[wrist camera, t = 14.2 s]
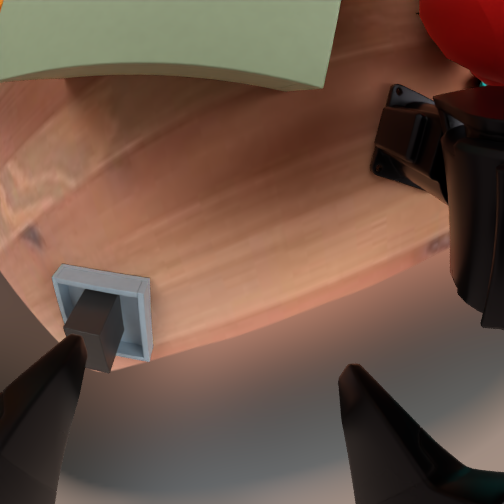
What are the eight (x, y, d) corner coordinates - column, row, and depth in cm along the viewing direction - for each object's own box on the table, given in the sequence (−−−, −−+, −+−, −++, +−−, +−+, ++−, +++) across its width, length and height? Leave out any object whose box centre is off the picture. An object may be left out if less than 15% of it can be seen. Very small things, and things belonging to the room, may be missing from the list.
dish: (150, 277, 21) (143, 294, 19) (153, 346, 25) (149, 362, 23) (62, 263, 20) (51, 276, 18) (78, 330, 24) (71, 345, 22)
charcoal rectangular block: (119, 290, 21) (99, 336, 17) (124, 330, 23) (109, 374, 19) (86, 284, 21) (62, 327, 16) (94, 324, 23) (76, 365, 19)
